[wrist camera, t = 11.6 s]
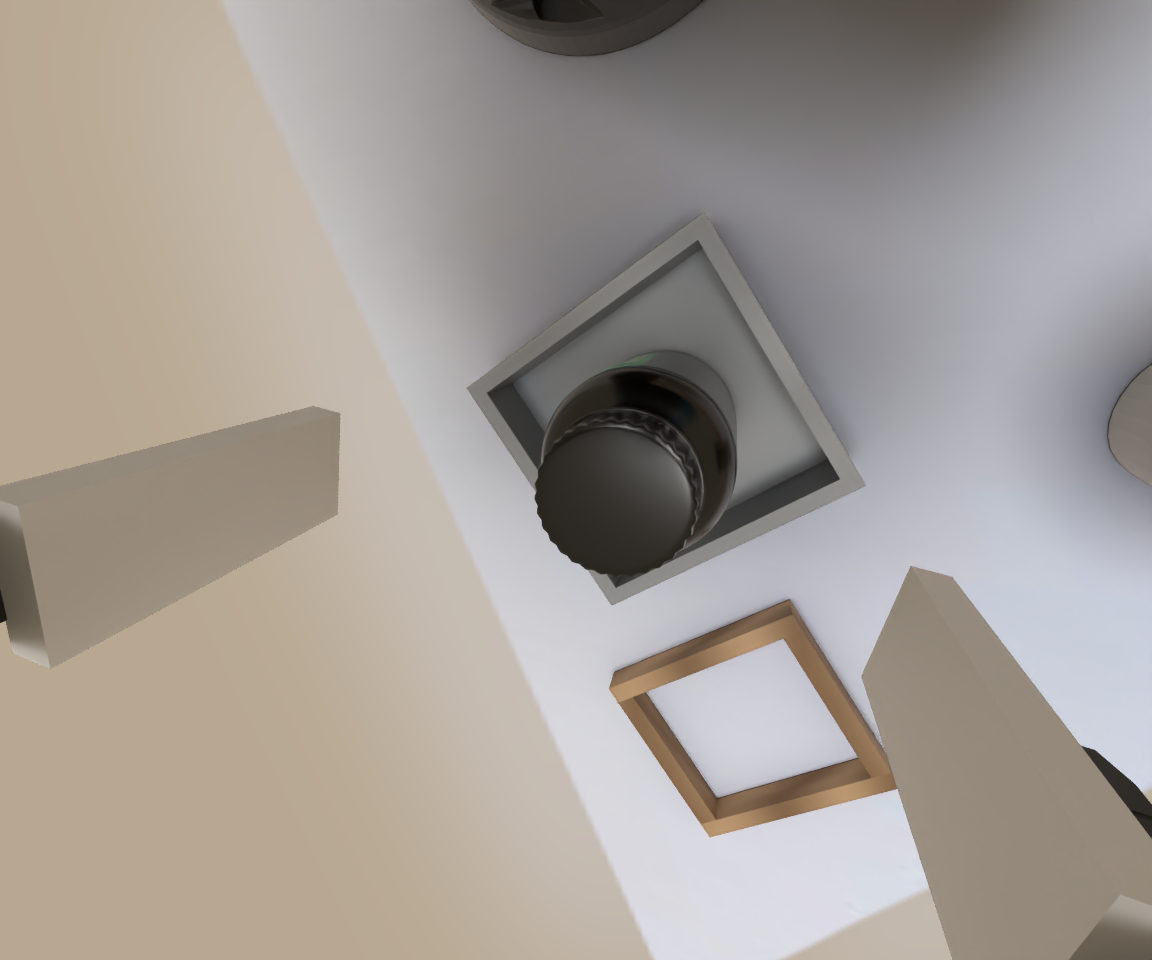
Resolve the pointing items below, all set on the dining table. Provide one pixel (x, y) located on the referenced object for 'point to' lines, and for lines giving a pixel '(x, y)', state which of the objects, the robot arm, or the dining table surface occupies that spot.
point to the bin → (712, 335)
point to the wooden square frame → (770, 799)
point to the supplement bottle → (638, 463)
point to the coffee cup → (1134, 427)
